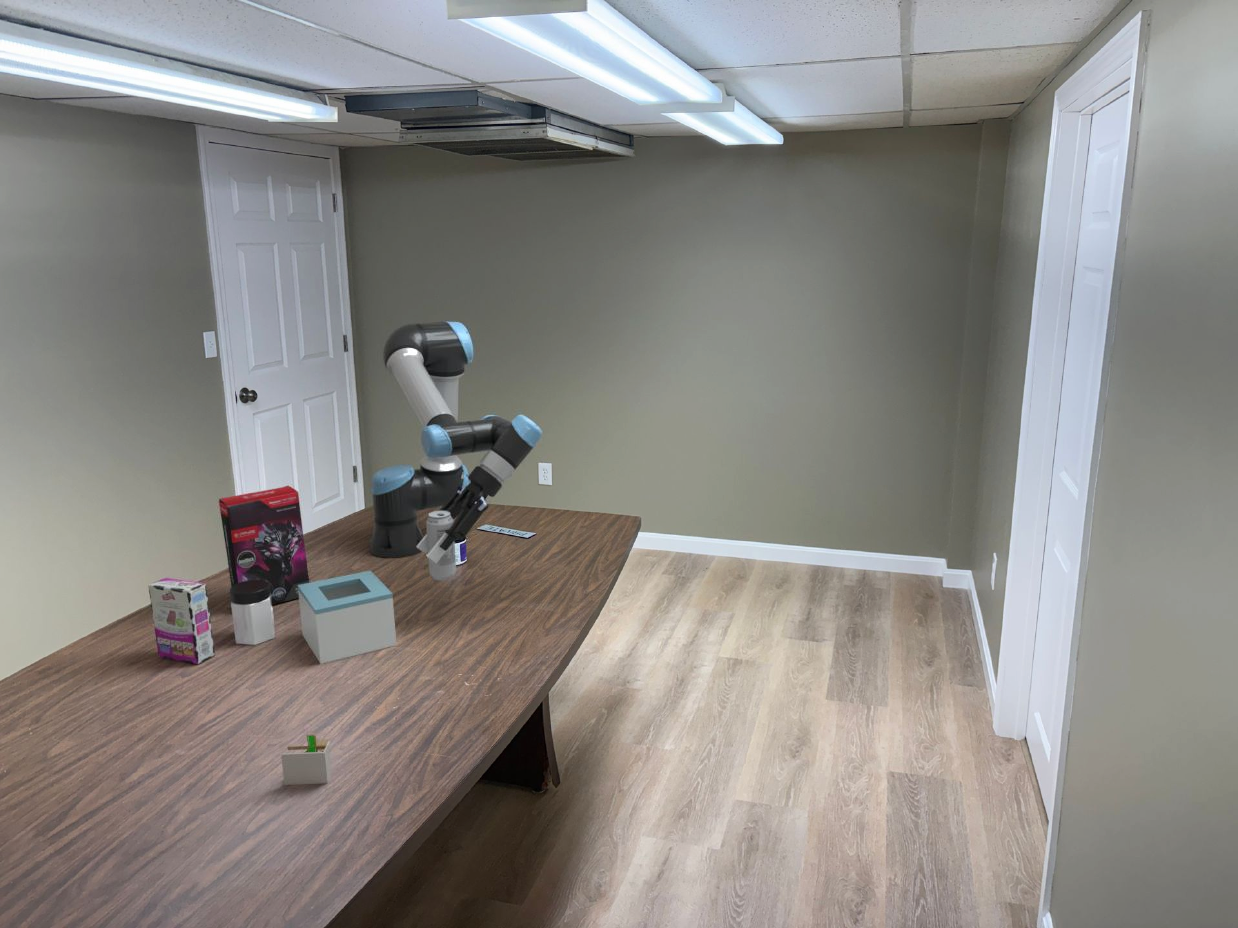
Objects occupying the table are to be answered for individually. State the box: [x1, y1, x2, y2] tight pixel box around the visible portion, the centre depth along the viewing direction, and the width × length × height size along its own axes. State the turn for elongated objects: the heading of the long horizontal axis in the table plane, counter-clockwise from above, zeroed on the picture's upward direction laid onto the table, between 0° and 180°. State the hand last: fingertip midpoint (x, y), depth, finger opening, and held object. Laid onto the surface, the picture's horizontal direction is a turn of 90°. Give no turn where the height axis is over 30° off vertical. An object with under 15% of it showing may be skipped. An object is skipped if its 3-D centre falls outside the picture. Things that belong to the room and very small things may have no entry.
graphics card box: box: [218, 485, 310, 606], centre depth 209 cm, size 17×7×27 cm, turn 131°
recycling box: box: [298, 570, 397, 665], centre depth 190 cm, size 16×16×12 cm
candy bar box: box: [147, 577, 216, 665], centre depth 182 cm, size 11×5×16 cm, turn 70°
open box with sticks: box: [280, 733, 332, 786], centre depth 141 cm, size 4×7×8 cm, turn 93°
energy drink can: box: [425, 510, 457, 581], centre depth 197 cm, size 6×6×15 cm
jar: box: [229, 580, 276, 646], centre depth 192 cm, size 9×8×12 cm
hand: (426, 554), depth 196 cm, fingers closed on energy drink can, 6 cm apart
